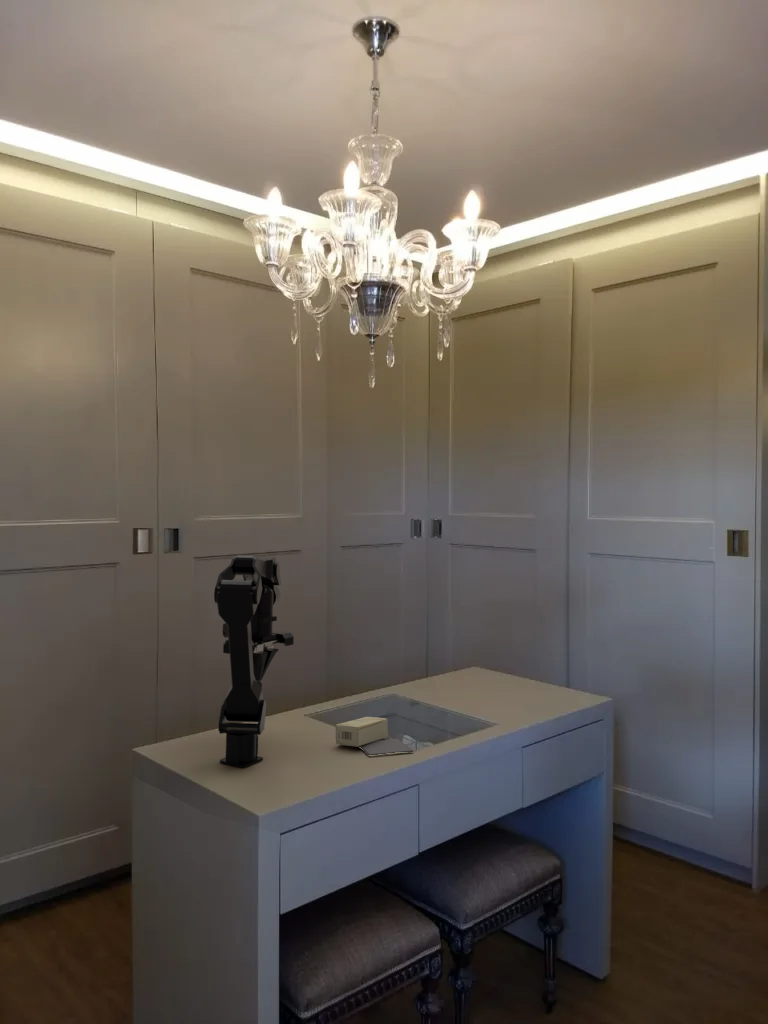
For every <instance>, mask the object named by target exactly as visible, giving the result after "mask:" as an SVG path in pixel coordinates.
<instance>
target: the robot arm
mask: <svg viewBox="0 0 768 1024" xmlns="http://www.w3.org/2000/svg"><path fill="white" fill-rule="evenodd" d="M236 576H242V578H243V580H242V579H237V580H236V579H235V578H236ZM281 583H282V582H281V572H280V562H279V561H277V558H276V557H274V556H255V555H242V554H241V555H239V554H238V555H235V556H232V558H231V562H230V564H229V565H228V566H227V567H226V568H225V569H223V570H222V571H221V572H220V573H219V574H218V577H217V580H216V583H215V588H214V592H213V593H214V595H213V597H214V599H213V600H214V603H215V604H216V606H217V611H218V616H219V617H220V618H221V619H222V620H223V622H224V623H222V637H224V638H225V639H226V638H227V639H226V640H225V641H224V642H223V644H222V653H223V654H229V662H230V663H229V664H230V675H231V685H230V687H229V688H228V691H227V694H226V697H225V698H224V700H223V702H222V703H223V704H221V707H220V712H219V719H218V727H217V728H218V732H219V734H225V757H223V758H221V759H219V763H221V764H225V765H229V766H233V767H238V768H242V769H243V768H246V767H249V766H251V765H254V764H256V763H258V762H261V761H263V760H264V757H263V756H259V755H258V754H259V736H261V735H262V733H263V732H264V730H265V726H266V725H265V723H266V713H267V712H266V711H267V710H266V709H267V702H266V701H267V700H266V699H264V693H263V691H264V690H263V683H262V682H261V681H262V680H263V679H264V676H265V674H266V673H267V670H268V668H269V666H270V664H271V662H272V660H273V658H275V656H276V654H277V652H279V648H275V646H274V644H283V645H284V646H285V647H288V646H293V645H294V638H295V637H294V635H293V633H291V632H290V631H288V632H287V631H281V630H274V629H273V627H274V625H273V623H274V622H277V621H278V620H277V619H278V616H276V615H274V607H275V605H276V604H278V602H279V601H280V598H281V592H280V589H279V587H278V586H280V585H281ZM273 630H274V631H273Z"/></svg>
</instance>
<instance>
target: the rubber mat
mask: <svg viewBox="0 0 768 1024" xmlns="http://www.w3.org/2000/svg"><path fill="white" fill-rule="evenodd" d="M359 747H361V748H362V749H363V750H364V751H365V752H366V753H367V754H368V755H378V754H386V753H395V752H413V753H414V750H413V748H411V747H410V746H408V745H407V744H405V743H404V742H403V741H402V740H400V739H399V738H392V739H380V740H377V741H374V742H371V743H368V744H364V745H361V746H359ZM359 747H358V748H359ZM368 755H367V756H368Z"/></svg>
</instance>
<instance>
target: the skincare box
mask: <svg viewBox="0 0 768 1024" xmlns="http://www.w3.org/2000/svg"><path fill="white" fill-rule="evenodd" d="M388 729H389V727H388V718H384V717H375V716H364V717H361V718H357V719H352V720H349V721H345V722H341V723H337V724H335V744H336V745H340V746H347V747H348V746H349V747H358V746H361V745H364V744H368V743H371V742H374V741H377V740H385V739H387V738H388V737H389V736H388V735H389V731H388ZM358 748H359V747H358Z"/></svg>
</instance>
